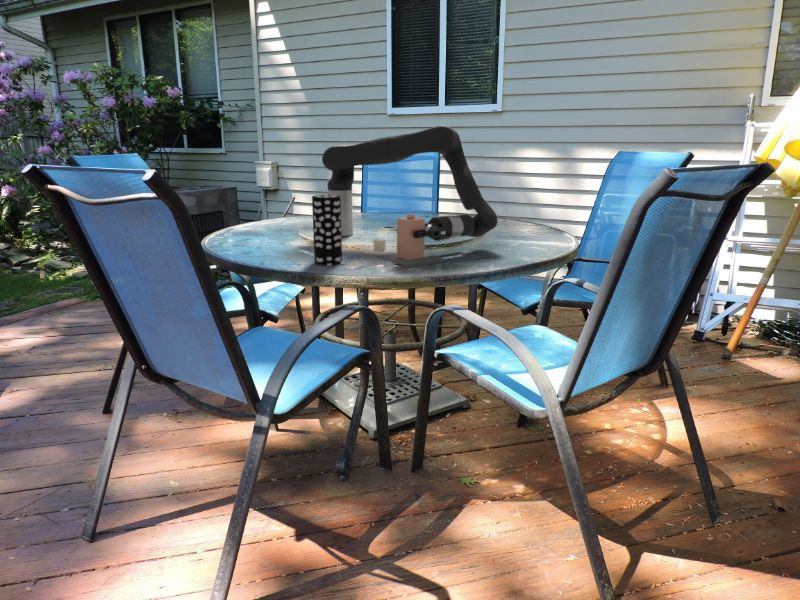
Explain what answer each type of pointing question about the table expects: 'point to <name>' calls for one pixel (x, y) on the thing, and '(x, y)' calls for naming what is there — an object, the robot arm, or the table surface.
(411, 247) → the tan capped carton
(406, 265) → the mat
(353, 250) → the table surface
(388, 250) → the saucer
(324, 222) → the spotted tube
